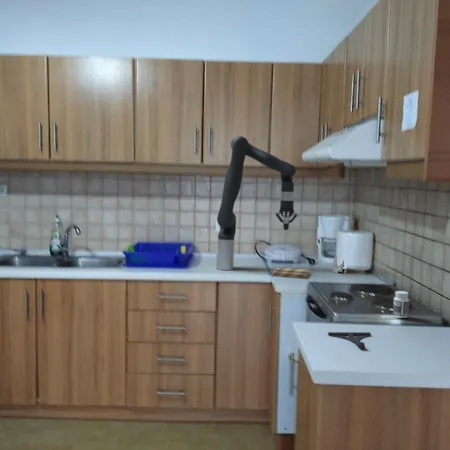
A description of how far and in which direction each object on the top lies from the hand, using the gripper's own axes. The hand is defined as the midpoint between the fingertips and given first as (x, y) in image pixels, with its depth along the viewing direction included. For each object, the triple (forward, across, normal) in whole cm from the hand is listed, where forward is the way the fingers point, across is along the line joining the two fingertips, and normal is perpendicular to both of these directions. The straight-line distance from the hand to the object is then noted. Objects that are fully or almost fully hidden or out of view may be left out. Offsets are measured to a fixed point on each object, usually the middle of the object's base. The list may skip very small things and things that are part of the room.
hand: (286, 229), depth 278 cm
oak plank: (+23, +6, -9) cm, 25 cm away
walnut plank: (+23, +6, -18) cm, 30 cm away
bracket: (+24, +43, -114) cm, 124 cm away
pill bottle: (+23, +59, -78) cm, 101 cm away
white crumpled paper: (+23, +30, +10) cm, 39 cm away
